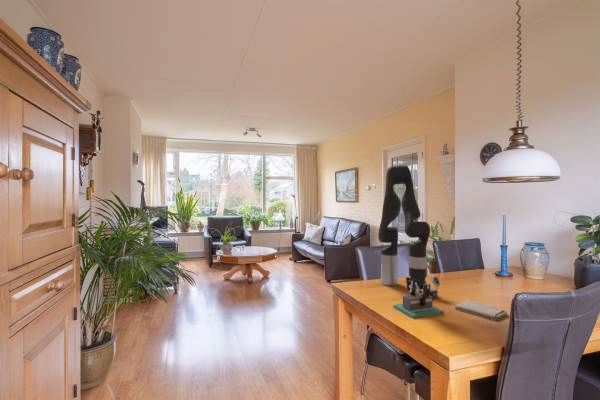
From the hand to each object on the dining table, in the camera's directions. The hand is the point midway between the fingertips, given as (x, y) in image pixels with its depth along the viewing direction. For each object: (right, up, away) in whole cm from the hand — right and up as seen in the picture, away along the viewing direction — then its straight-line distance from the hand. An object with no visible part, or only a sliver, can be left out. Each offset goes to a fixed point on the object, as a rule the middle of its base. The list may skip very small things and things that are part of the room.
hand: (417, 303), depth 143 cm
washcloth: (+27, -4, -2) cm, 27 cm away
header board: (0, -3, 0) cm, 3 cm away
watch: (+14, -3, +19) cm, 24 cm away
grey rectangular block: (0, -2, 0) cm, 2 cm away
